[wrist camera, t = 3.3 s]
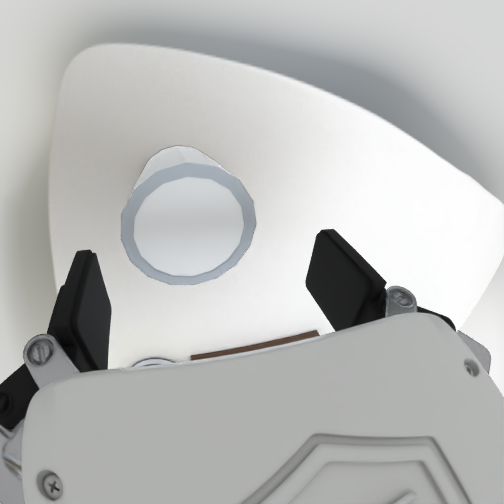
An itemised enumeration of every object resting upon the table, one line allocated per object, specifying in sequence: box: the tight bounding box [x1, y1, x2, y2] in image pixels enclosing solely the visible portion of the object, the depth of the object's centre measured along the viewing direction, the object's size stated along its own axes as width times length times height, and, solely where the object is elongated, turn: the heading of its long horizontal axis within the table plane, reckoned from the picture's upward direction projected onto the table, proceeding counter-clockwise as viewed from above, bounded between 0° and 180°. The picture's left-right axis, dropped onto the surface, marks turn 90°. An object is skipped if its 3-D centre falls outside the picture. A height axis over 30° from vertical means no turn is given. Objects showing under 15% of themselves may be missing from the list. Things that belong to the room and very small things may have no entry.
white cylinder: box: [121, 146, 256, 285], centre depth 16 cm, size 7×7×7 cm
